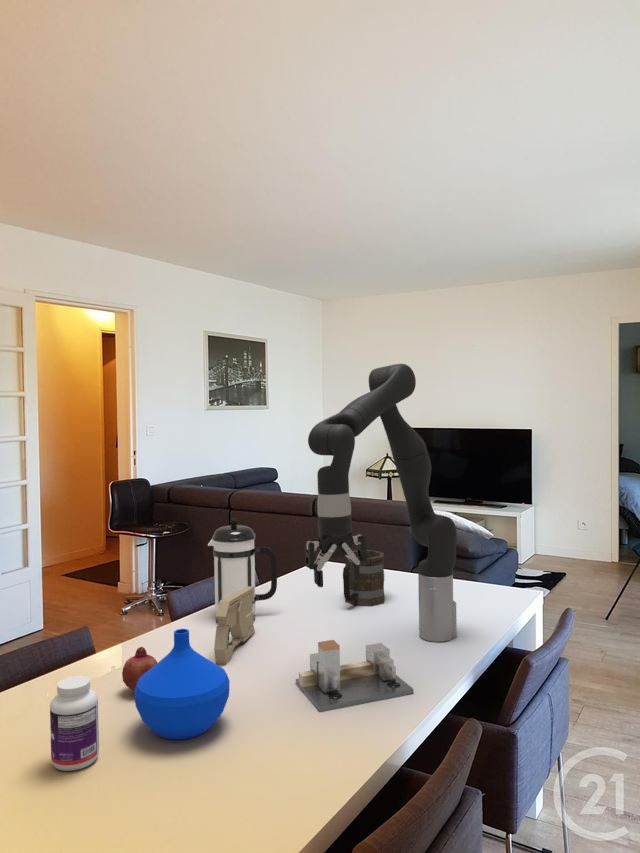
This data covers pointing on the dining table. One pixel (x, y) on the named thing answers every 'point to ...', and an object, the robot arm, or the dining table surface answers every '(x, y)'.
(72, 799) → the dining table surface
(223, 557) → the coffee press
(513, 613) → the dining table surface
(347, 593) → the mug
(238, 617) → the gun
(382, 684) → the bolt plate
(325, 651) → the slide leg
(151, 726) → the vase
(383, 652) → the fixed leg
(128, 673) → the fruit
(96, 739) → the pill bottle
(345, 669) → the divider rail
